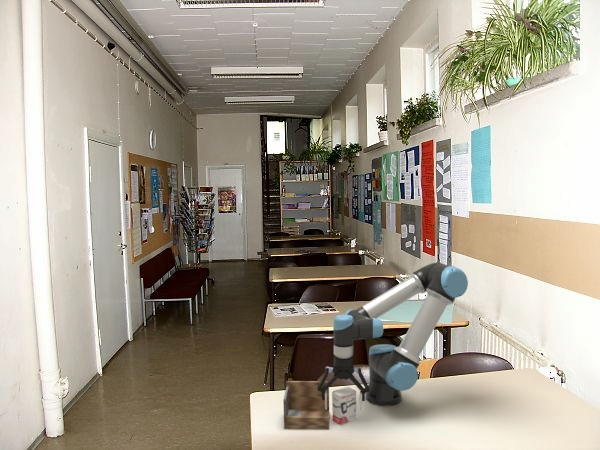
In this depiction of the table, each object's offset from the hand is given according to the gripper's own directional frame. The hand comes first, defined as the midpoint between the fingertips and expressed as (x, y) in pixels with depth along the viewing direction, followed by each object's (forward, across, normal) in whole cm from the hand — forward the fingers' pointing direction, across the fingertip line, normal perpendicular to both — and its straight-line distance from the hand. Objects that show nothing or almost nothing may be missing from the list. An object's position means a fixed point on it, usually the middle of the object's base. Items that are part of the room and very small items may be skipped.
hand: (343, 408), depth 198 cm
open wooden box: (+5, +14, +1) cm, 15 cm away
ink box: (+5, 0, 0) cm, 5 cm away
